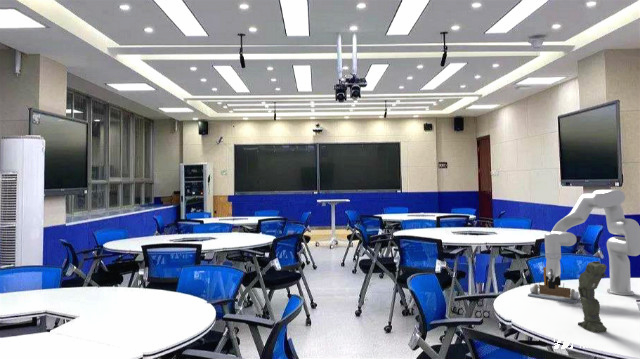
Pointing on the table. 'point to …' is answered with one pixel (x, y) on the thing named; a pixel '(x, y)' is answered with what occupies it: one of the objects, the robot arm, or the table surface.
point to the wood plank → (555, 291)
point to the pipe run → (536, 293)
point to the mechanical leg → (591, 296)
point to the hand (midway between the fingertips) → (554, 286)
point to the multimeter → (547, 277)
